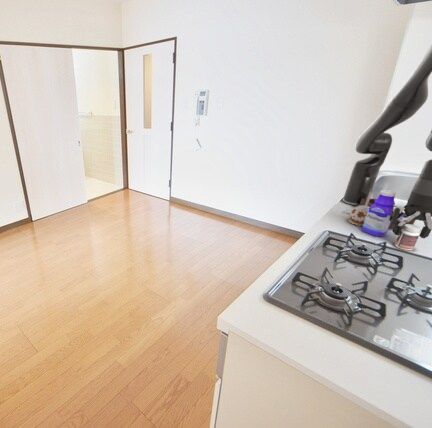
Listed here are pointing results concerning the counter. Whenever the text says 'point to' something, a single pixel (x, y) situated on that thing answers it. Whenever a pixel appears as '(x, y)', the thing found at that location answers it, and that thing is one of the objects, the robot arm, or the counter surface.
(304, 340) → the counter surface
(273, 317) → the counter surface
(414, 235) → the pill bottle
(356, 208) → the decorative ornament
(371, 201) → the organiser
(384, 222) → the bottle
